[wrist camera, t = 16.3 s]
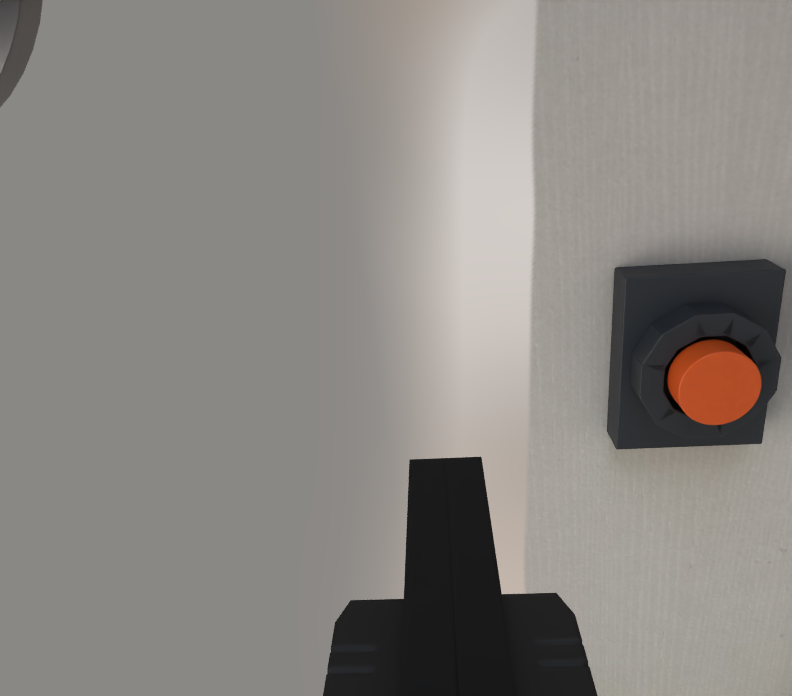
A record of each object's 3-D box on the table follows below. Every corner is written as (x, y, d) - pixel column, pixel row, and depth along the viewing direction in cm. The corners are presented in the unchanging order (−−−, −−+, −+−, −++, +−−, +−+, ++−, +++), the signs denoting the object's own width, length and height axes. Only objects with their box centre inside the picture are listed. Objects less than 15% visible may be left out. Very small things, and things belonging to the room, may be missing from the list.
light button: (669, 340, 35) (681, 353, 33) (751, 336, 35) (767, 349, 33) (664, 411, 37) (675, 427, 35) (742, 408, 36) (757, 424, 35)
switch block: (614, 267, 38) (635, 288, 34) (766, 258, 37) (804, 279, 33) (606, 431, 41) (624, 466, 37) (745, 425, 41) (777, 460, 37)
